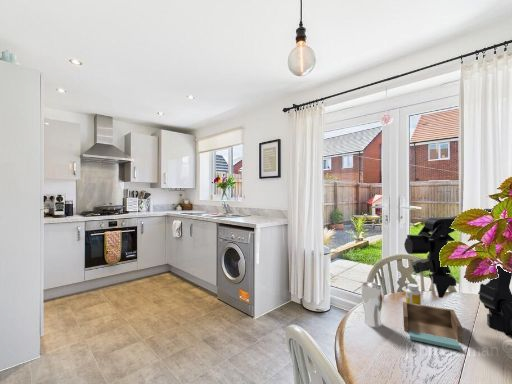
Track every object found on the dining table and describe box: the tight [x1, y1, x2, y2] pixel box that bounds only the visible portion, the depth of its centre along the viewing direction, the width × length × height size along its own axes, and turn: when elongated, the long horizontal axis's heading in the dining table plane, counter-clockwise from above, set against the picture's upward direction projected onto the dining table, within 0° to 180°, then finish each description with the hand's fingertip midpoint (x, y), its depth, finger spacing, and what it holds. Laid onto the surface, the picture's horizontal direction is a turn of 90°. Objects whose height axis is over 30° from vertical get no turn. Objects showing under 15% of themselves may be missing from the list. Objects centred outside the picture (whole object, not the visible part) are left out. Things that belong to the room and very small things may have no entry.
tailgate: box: [408, 330, 462, 351], centre depth 82 cm, size 13×1×7 cm
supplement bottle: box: [405, 283, 422, 305], centre depth 108 cm, size 5×5×10 cm
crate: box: [402, 301, 464, 343], centre depth 90 cm, size 16×13×6 cm
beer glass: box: [361, 281, 384, 329], centre depth 94 cm, size 7×7×15 cm
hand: (440, 297), depth 90 cm, fingers closed
